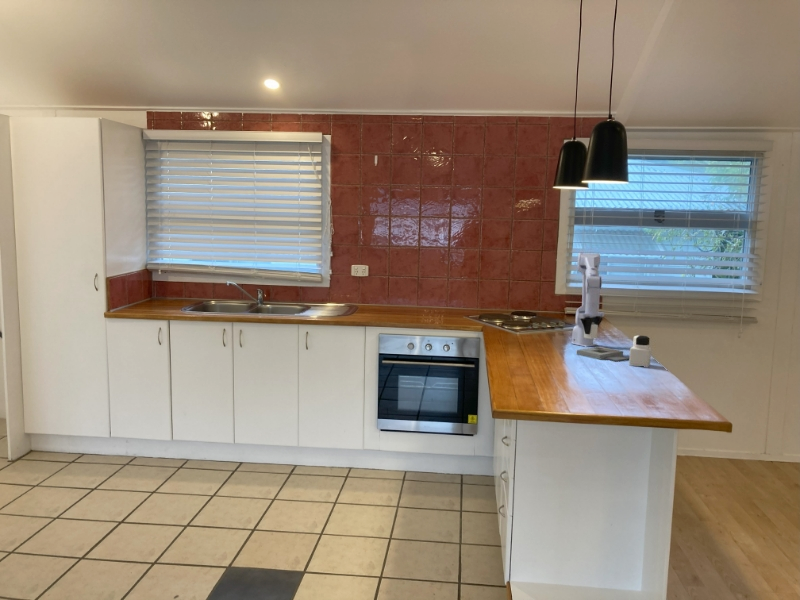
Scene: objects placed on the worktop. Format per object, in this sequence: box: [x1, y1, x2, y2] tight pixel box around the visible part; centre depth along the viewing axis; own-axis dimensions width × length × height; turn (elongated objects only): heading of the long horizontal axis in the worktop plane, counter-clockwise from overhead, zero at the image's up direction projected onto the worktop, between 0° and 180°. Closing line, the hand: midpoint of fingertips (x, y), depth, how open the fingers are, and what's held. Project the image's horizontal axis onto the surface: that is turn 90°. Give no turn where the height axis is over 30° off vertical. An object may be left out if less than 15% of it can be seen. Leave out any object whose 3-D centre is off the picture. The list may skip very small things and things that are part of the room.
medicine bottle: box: [628, 335, 652, 368], centre depth 246 cm, size 7×7×12 cm
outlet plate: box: [576, 346, 624, 361], centre depth 264 cm, size 12×16×2 cm
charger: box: [584, 322, 599, 340], centre depth 269 cm, size 4×4×7 cm
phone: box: [605, 356, 630, 363], centre depth 256 cm, size 5×9×1 cm, turn 121°
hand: (590, 333), depth 269 cm, fingers closed on charger, 4 cm apart
